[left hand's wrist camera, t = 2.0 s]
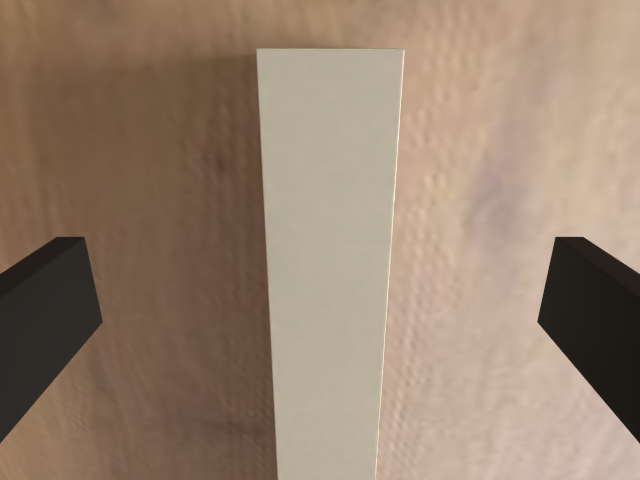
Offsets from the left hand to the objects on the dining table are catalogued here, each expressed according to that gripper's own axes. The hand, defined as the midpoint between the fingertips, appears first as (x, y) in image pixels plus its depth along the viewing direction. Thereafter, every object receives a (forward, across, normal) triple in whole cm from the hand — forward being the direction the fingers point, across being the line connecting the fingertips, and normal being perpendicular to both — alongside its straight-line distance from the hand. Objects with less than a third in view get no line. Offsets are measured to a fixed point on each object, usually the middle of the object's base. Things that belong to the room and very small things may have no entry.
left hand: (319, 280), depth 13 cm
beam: (+13, 0, -31) cm, 34 cm away
